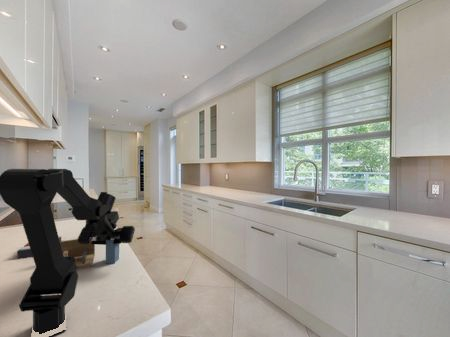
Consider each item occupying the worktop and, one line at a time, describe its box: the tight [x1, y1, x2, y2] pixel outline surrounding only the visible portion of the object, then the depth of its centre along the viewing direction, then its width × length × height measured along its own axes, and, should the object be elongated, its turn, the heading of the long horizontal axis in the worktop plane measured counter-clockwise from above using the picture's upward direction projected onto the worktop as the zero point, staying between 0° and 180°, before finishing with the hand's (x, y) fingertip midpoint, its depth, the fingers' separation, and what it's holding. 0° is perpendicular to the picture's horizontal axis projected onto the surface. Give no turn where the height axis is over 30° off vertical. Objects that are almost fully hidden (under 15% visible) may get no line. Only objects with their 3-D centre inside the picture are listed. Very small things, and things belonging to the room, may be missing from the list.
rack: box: [60, 237, 96, 269], centre depth 77 cm, size 11×14×8 cm
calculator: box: [17, 235, 62, 260], centre depth 89 cm, size 11×4×15 cm
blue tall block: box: [105, 239, 120, 264], centre depth 80 cm, size 4×4×12 cm
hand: (114, 243), depth 81 cm, fingers closed on blue tall block, 3 cm apart
